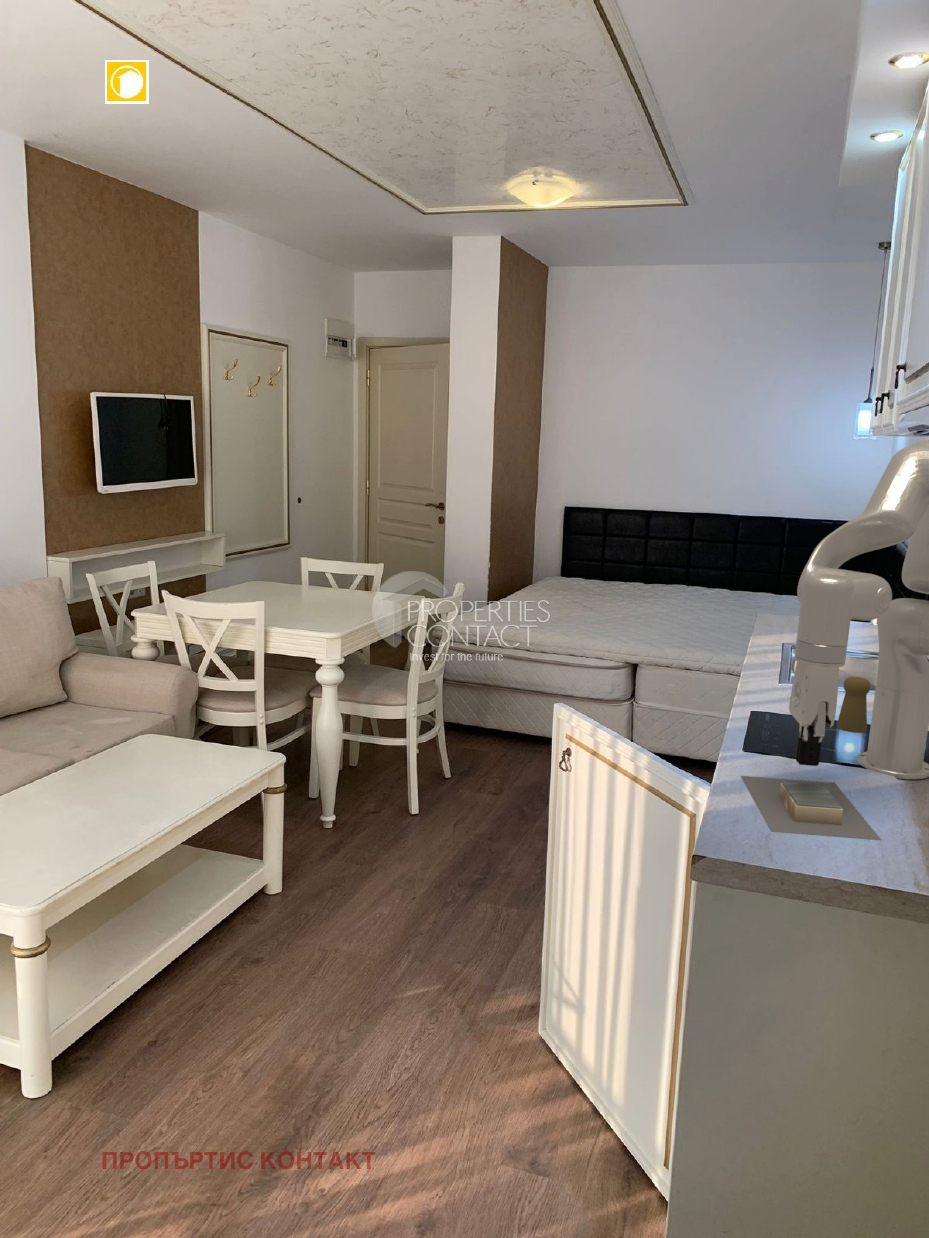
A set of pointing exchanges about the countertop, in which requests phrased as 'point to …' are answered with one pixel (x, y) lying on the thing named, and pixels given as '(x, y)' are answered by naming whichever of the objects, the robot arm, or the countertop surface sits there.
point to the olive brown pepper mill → (854, 705)
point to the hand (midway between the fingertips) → (807, 763)
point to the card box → (810, 803)
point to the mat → (781, 821)
